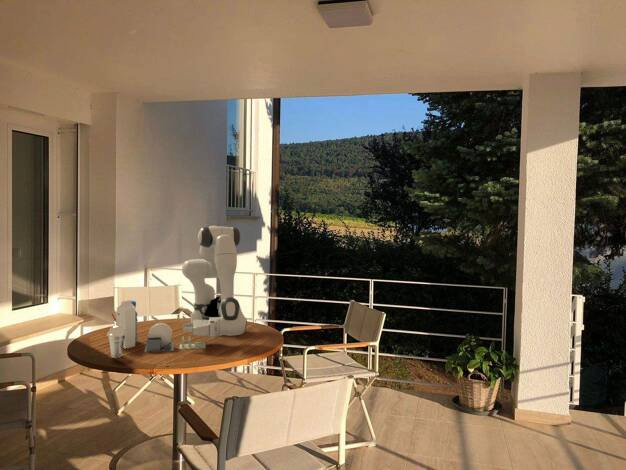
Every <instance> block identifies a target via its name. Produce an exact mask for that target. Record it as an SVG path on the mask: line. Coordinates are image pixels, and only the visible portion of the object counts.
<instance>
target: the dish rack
mask: <svg viewBox="0 0 626 470" xmlns="http://www.w3.org/2000/svg"><path fill="white" fill-rule="evenodd" d="M175 344H176V343H175V342H170V343H169V344H168V345H164V347H161V337H157V338H148V337H147V338H146V344H145V347H144V351H143V353H155V352H156V353H157V352H158V353H159V352H163V353H164V352H174V351H175Z"/></svg>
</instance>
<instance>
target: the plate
mask: <svg viewBox="0 0 626 470" xmlns="http://www.w3.org/2000/svg"><path fill="white" fill-rule="evenodd" d="M157 337H161V347H164V345H168V344H169V343H172V342H171V341H172V340H173V330H172V328H171V327H170V326H169V325H168V324H166V323H161V322H160V323H156V324H154V325H152V326H151V327H150V329H149V330H148V333H147V338H157Z"/></svg>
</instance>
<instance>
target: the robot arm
mask: <svg viewBox="0 0 626 470" xmlns="http://www.w3.org/2000/svg"><path fill="white" fill-rule="evenodd" d="M197 240H198V244H199V246H200V247H199V250H198V251H199V256H200V257H201V258H198V259H197V258H193V259H188V260H186V261H184V262H183V264H182V267H181V272H182V274H183V276H184V277H185V278H186V279H187V280H189V282H190V283H191V284H192V287H193V290H194V303H193V311H192V313H190V322H187V323H183V324H182V327H183V328H182V332H184V333H185V332H187V333H192V334H193V336H196V337H197V336H199V337H210V338H214V337H220V336H238V335H243V334H244V333H245V332H246V329H247V325H248V319H247V317H246V316H245V315H244V314H243V311H242V309H241V305H240V302H239V300H238V299H236V298H234V285H233V283H234V277H235V274H236V270H237V267H238V266H237V265H238V253H237V248H236V247H237V246H238V245H239V244H240V242H241V232H240V230H239V229H238V228H236V227H233V226H222V225H220V226H217V225H210V226H204V227H201V228H200V229H199V230H198V234H197ZM217 278H218V280H219V284H220V285H219V286H220V287H219V288H220V299H221V303H219V306H218V308H217V309H218V315H219V317H210V318H209V320H202V314H204V312H205V311H206V309H207V306H208V304H210V301H211V300H212V299H215V298H216V297H215V296H216V294H215V293H216V290H215V288H214V287H213V286H212V285H210V284H208V283H206V281H205V279H217Z"/></svg>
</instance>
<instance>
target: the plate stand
mask: <svg viewBox="0 0 626 470" xmlns="http://www.w3.org/2000/svg"><path fill="white" fill-rule="evenodd" d="M191 338H192V337H191V336H188V340H187V341H188V343H186V344H185V336H181V343H180V344H179V350H185V349H186V350H187V349H188V350H189V349H191V350H192V349H206V347H207V346H206V343H204V341H194V343H191V341H192V340H191Z"/></svg>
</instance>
